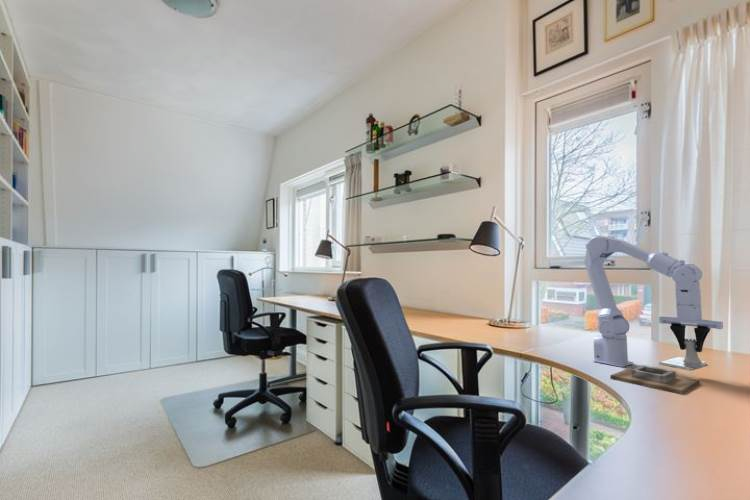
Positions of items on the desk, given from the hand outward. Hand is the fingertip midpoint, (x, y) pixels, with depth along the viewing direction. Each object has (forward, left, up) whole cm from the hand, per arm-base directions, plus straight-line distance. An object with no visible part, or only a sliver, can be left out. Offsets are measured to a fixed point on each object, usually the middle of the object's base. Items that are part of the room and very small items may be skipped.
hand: (691, 350), depth 110 cm
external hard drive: (-7, +15, -9) cm, 19 cm away
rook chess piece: (0, 0, -5) cm, 5 cm away
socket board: (-5, -12, -8) cm, 16 cm away
